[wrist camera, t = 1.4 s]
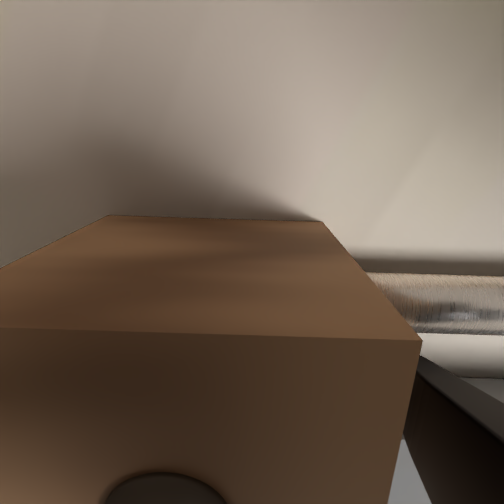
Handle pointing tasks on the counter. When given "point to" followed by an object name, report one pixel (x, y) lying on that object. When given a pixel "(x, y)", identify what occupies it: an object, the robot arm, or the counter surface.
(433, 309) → the rod
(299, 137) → the counter surface
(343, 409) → the block
